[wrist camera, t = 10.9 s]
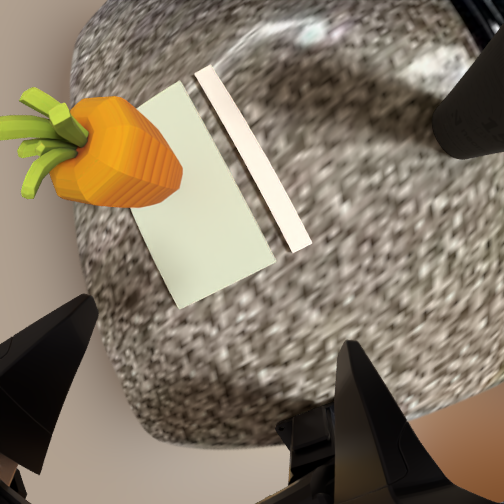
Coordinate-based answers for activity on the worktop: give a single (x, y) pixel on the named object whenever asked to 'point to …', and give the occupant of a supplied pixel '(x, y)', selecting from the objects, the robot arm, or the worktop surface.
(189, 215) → the mat
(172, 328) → the worktop surface
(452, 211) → the worktop surface
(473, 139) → the drinking cup
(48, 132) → the carrot
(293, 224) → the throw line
